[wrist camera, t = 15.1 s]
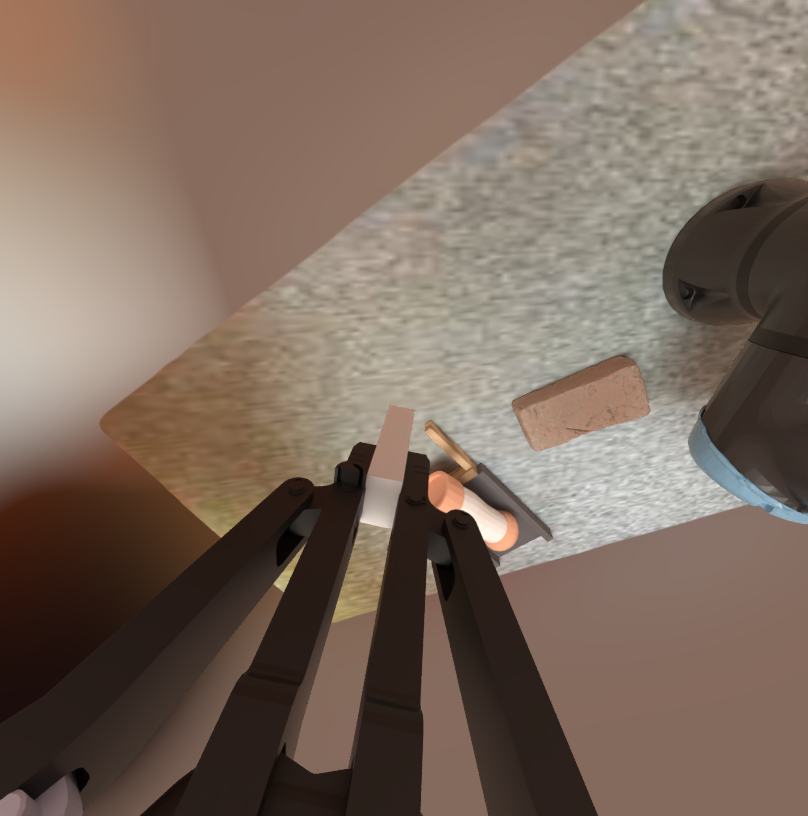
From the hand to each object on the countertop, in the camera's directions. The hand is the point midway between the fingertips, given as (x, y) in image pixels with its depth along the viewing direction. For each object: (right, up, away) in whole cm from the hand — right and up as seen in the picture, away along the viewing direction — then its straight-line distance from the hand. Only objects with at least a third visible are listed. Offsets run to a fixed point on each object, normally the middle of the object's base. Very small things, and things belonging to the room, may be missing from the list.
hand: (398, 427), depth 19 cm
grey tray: (+16, -19, +41) cm, 48 cm away
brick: (+26, +2, +29) cm, 39 cm away
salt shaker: (+5, -12, +30) cm, 33 cm away
